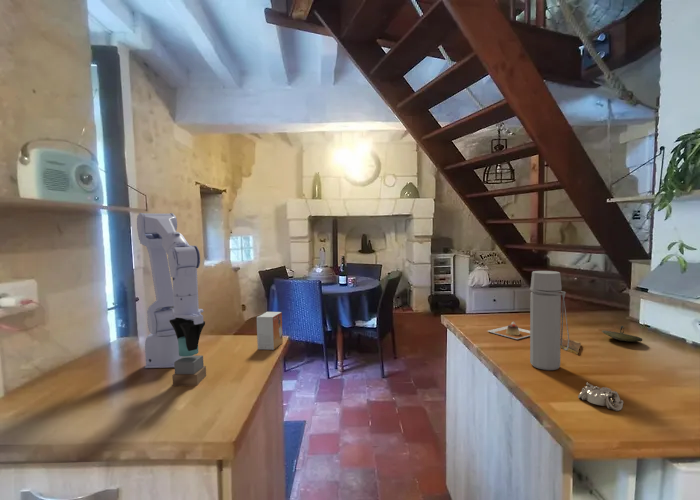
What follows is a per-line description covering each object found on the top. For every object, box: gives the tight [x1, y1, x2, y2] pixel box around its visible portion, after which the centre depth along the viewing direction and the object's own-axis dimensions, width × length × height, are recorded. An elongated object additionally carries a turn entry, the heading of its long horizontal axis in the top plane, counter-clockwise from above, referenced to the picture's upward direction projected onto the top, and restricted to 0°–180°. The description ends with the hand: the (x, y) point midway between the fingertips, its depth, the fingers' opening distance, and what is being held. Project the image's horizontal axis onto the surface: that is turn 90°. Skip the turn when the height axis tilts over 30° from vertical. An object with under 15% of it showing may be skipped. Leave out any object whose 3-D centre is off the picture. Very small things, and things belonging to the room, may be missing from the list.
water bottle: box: [529, 270, 570, 371], centre depth 100 cm, size 9×8×25 cm
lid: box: [601, 325, 643, 343], centre depth 120 cm, size 11×10×5 cm
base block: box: [171, 365, 207, 387], centre depth 97 cm, size 6×6×3 cm
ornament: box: [577, 382, 624, 412], centre depth 80 cm, size 8×7×4 cm
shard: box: [560, 338, 582, 355], centre depth 115 cm, size 11×8×2 cm
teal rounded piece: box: [178, 336, 200, 356], centre depth 96 cm, size 5×5×4 cm
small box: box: [256, 311, 284, 351], centre depth 124 cm, size 8×6×10 cm
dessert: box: [487, 321, 530, 341], centre depth 132 cm, size 12×12×5 cm
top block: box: [173, 354, 205, 374], centre depth 97 cm, size 5×5×3 cm
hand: (188, 347), depth 96 cm, fingers closed on teal rounded piece, 4 cm apart
